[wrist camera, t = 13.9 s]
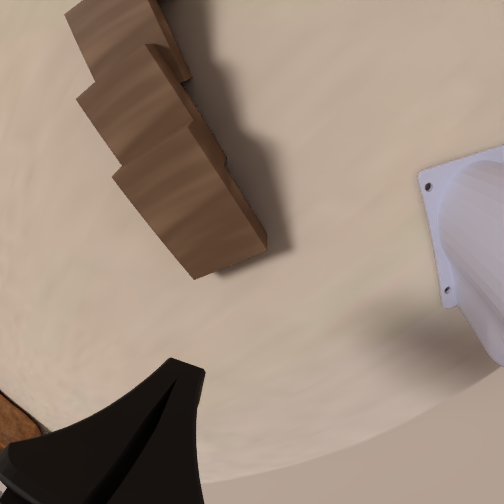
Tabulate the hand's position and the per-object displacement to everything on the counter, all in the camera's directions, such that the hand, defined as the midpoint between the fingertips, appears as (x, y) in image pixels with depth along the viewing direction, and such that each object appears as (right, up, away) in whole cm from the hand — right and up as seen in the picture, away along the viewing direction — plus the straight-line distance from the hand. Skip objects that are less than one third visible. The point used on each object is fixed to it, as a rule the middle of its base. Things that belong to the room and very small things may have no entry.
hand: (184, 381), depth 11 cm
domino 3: (+1, +4, +9) cm, 10 cm away
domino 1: (-3, +14, +6) cm, 15 cm away
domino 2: (-1, +9, +7) cm, 12 cm away
